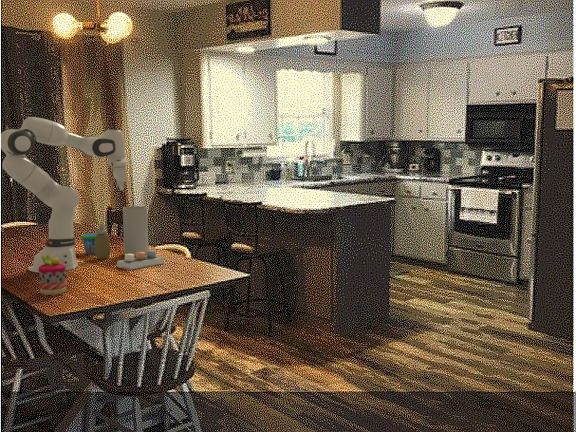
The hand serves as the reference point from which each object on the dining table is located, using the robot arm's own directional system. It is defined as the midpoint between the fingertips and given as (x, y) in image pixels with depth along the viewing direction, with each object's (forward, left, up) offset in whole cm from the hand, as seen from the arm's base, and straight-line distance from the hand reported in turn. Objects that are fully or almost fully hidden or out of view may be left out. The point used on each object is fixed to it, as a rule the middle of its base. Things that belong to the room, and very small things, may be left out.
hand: (120, 188), depth 318 cm
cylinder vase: (+13, +6, -36) cm, 39 cm away
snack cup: (-1, +25, -36) cm, 44 cm away
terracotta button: (-3, -19, -33) cm, 38 cm away
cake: (-59, -36, -36) cm, 78 cm away
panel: (-3, -19, -36) cm, 41 cm away
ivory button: (-10, -19, -33) cm, 39 cm away
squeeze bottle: (-5, +10, -36) cm, 38 cm away
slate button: (+3, -19, -33) cm, 38 cm away
